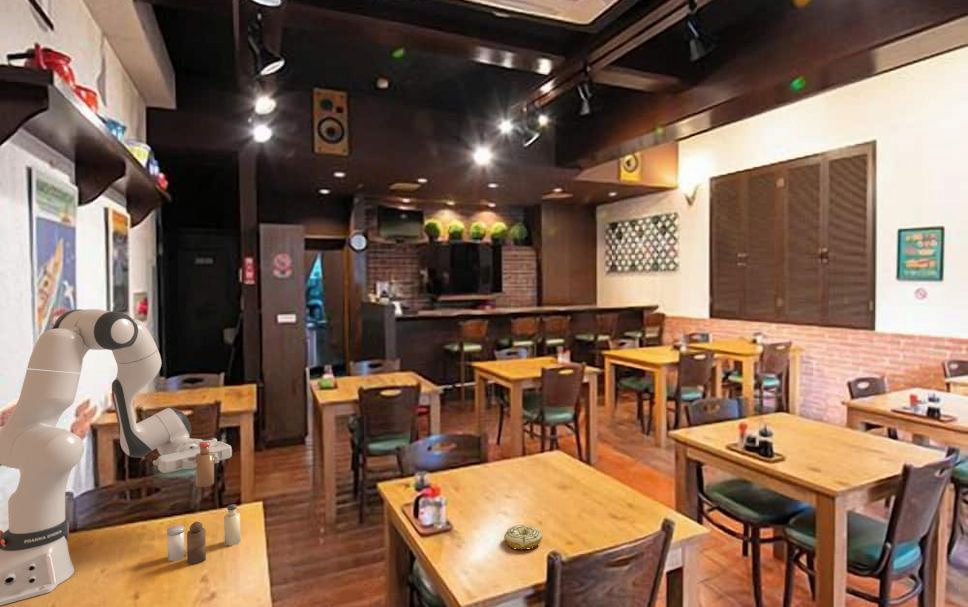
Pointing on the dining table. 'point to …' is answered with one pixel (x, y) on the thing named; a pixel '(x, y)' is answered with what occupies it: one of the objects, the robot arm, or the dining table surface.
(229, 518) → the vinegar bottle
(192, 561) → the pepper mill
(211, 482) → the soy bottle
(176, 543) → the salt shaker
